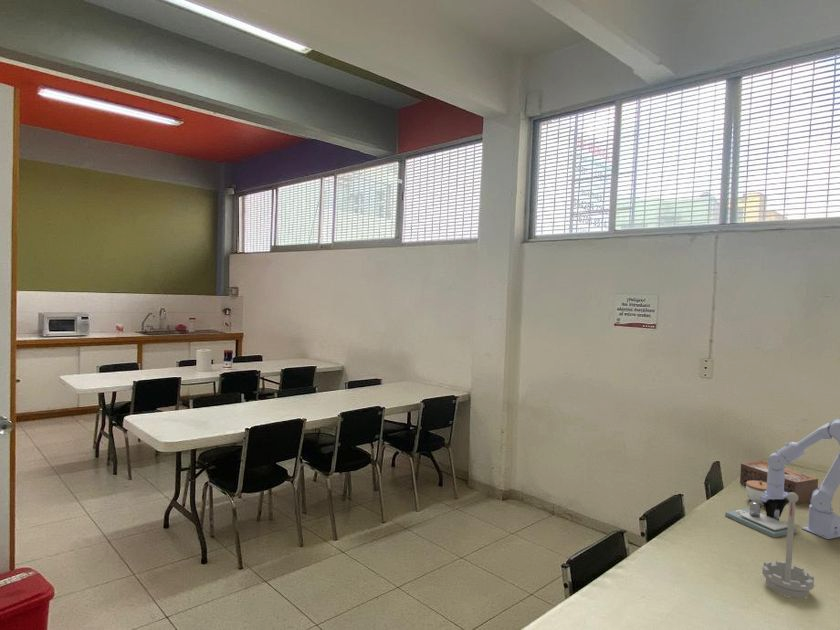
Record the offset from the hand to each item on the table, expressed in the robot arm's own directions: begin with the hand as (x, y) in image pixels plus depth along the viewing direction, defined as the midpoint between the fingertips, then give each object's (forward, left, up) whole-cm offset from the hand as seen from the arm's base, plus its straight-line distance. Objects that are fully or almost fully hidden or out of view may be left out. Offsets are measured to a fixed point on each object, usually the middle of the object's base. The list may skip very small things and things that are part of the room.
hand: (773, 516), depth 213 cm
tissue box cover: (+21, -33, -2) cm, 39 cm away
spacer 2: (0, 0, -2) cm, 2 cm away
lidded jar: (+15, -13, -2) cm, 20 cm away
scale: (-1, +9, -1) cm, 9 cm away
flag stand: (-35, +45, -2) cm, 57 cm away
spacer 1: (+1, +9, +1) cm, 9 cm away
